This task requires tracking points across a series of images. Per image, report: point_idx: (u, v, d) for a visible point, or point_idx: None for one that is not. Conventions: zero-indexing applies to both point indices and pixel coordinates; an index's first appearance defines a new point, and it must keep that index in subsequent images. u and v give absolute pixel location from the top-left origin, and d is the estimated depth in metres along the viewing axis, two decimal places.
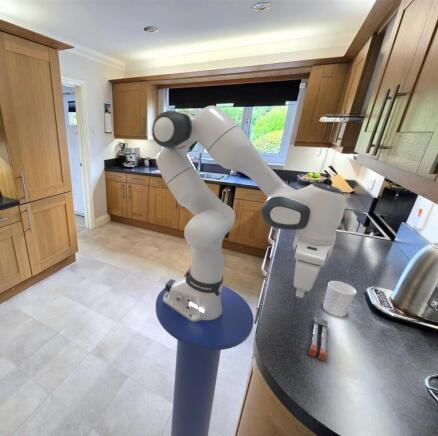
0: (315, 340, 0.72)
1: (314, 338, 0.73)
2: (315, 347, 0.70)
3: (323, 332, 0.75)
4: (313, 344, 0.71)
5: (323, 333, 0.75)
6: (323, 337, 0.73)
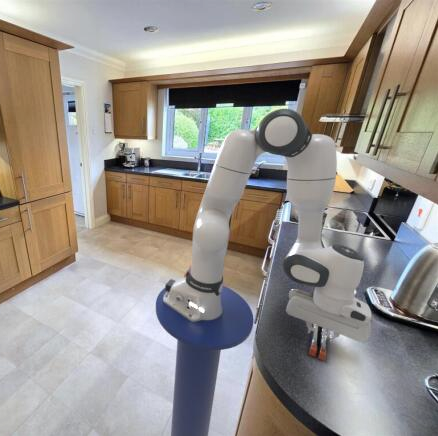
0: (315, 340, 0.72)
1: (314, 338, 0.73)
2: (315, 347, 0.70)
3: (323, 332, 0.75)
4: (313, 344, 0.71)
5: (323, 333, 0.75)
6: (323, 337, 0.73)
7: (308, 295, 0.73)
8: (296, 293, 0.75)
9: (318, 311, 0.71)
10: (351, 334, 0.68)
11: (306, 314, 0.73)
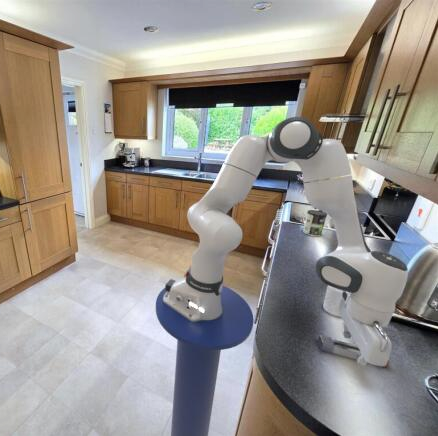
0: None
1: None
2: None
3: (344, 343, 0.71)
4: None
5: (346, 344, 0.71)
6: (354, 345, 0.71)
7: None
8: None
9: None
10: None
11: None
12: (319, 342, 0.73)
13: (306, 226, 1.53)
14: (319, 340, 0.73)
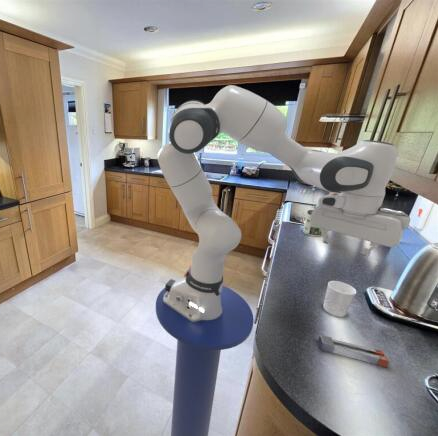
0: (368, 353, 0.68)
1: (366, 354, 0.68)
2: (381, 356, 0.67)
3: (344, 343, 0.71)
4: (378, 357, 0.67)
5: (346, 344, 0.71)
6: (354, 345, 0.71)
7: None
8: None
9: None
10: None
11: None
12: (319, 342, 0.73)
13: (306, 226, 1.53)
14: (319, 340, 0.73)
